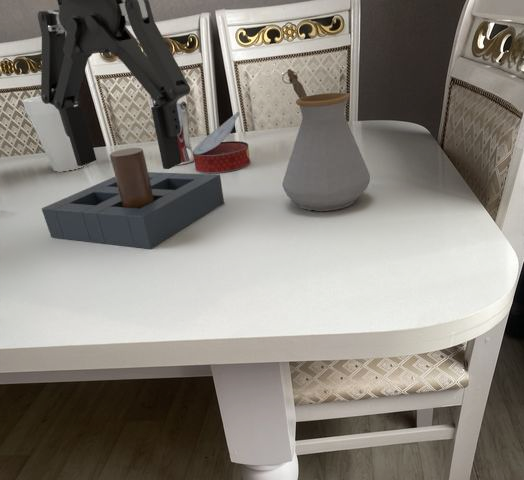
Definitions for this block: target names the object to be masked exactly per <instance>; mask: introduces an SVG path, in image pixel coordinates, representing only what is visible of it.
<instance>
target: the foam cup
mask: <svg viewBox="0 0 524 480" xmlns="http://www.w3.org/2000/svg"><path fill="white" fill-rule="evenodd" d="M76 103H77V102H76ZM22 104H23V107H24V110H25V114H26V116H28V118H29V121H30V122H31V124H32V126H33V128H34V131H35V133H36V135H37V137H38V139H39V141H40V144H41V147H42V148H43V151H44V153H45V155H46V157H47V159H48V161H49V164H50V166H51V168H52V170H53V171H54V172H55V171H57V172H56V173H64V172H63V171H66V172H70V171H69V170H72V171H75V170H74V169H76V170H79V169H78V168H80V169H81V167H82V168H84V167H86V165H83V166H84V167H83V166H78V165H77V162H76V159H75V155H74V152H73V148H72V145H71V141H70V138H69V137H68V136H67V135H66V133H65V130H64V126H63V123H62V120H61V116H60V113H59V110H58V109H57V108H56V107H55V106H54V105H52V104H50V103H48V104H45V103H44V102H43V101H42V99H41V95H38V96H32V97H29V98H25V99H23V100H22ZM75 106H79V104H77V105H74V107H75Z"/></svg>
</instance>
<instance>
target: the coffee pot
mask: <svg viewBox="0 0 524 480" xmlns="http://www.w3.org/2000/svg"><path fill="white" fill-rule="evenodd" d="M286 74H287V77H288V82H286V81H285V80H284V77H285V75H286ZM298 79H299V78H298V73H297V72H296V71H294V70H292V69H291V68H288V69H287V71H286V72H284V73H283V74H282V77H281V80H282V82H283V83H284V84H288V85H290V84H291V85H292V87H293V88H292V89H293V91H294V92H295V94H296V95H297V97H298V98H297V99H296V100H295V104H296V105H297V106H299V109H300V113H301V117H302V119H301V121H300V125H299V128H298V132H297V134H296V138H295V140H294V144H293V148H292V150H291V154H290V157H289V161H288V164H287V167H286V170H285V173H284V175H283V181H282V183H281V184H282V185H281V186H282V189H283V191H284V193H285V194H286V196H287V197H288V198H289V199H290V200H291V201H293V203H295V204H297V206H298V207H299V208H301V209H303V210H306V209H307V210H306V211H311V210H315V211H314V212H329V211H336V210H337V211H338V210H342V209H344V208H347V207H349V206H352V205H354V204H355V202H356V201H357V199H358V198H360V197H361V196H362V195H363V193H364V192H365V191H366V190H367V189H368V187H369V184H370V181H371V174H370V172H369V169H368V167H367V164H366V163H365V160H364V158H363V156H362V153H361V151H360V148H359V146H358V143H357V141H356V138H355V136H354V134H353V132H352V130H351V127H350V124H349V122H348V120H347V118H346V115H345V110H346V107H347V103H348V101H349V99H350V98H351V93H347V92H327V93H318V94H312V95H307V93H306V90H305V88H304V86H303V84H302V83H301V82H300V81H299V80H298Z"/></svg>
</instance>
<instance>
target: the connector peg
mask: <svg viewBox="0 0 524 480" xmlns="http://www.w3.org/2000/svg"><path fill="white" fill-rule="evenodd" d="M109 159H110V162H111V167H112V169H113V175H114V177H115V178H116V182H117V186H118V190H119V193H120V197H121V201H122V205H123V207H124V208H138V209H140V208H142V207H144V206H146V205H148V204H150V203H152V202H154V197H153V193H152V188H151V184H150V179H149V175H148V172H149V170H148V167H147V162H146V158H145V153H144V149H143V148H141V147H128V148H127V147H126V148H123V149H118V150H115V151H112V152H110V153H109Z"/></svg>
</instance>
